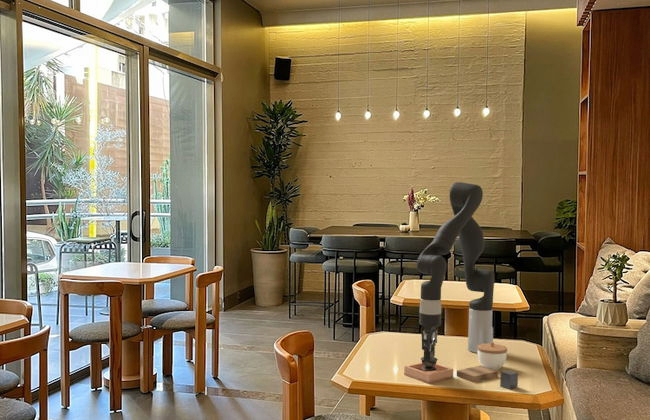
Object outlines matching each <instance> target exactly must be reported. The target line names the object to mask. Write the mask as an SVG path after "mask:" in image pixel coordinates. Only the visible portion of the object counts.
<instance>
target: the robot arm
mask: <svg viewBox="0 0 650 420" xmlns="http://www.w3.org/2000/svg"><path fill="white" fill-rule="evenodd" d="M483 192H484V191H483V188H482V187H481V186H480V185H478V184H473V183H468V182H460V181H459V182H457V181H456V182H454V183H453V184H452V185H451V186H450V189H449V203H450V205H451V208H452V213H453V216H452V217H451V218H450V219H448V220H447V221H445V222H444V223H443V224H442V225H441V226H440V227H439V229H438V230H437V231H436V233H435V236H434V238H433V240H432V241H431V242H430V244H428V245H427V246H426V248H424V250H423V251H421V253H420V254H419V256H418V257H417V260H416V270H417V271H418V272H419V273H420V274H423V275H430V277H431V278H430V279H429V280H428V281H427V280H426V281H425V280H424V281H423V282H422V283H421V285H420V301H419V320H418V321H419V322H418V324H419V325H421V326H423V327H424V330H423V331H422V333H421V350H423V357H424V361H427V362H429V361H430V354H431V345H432V344H433V340H434V348H435V349H434V357H435V356H436V355H435V354H436V346H437V343H438V329H439V328H438V327H440V326H441V325H442V286H443V283H444V279H445V276H446V272H447V268H448V267H447V266H448V264H447V261H446V259H445V257H443V256H445V255H448V254H449V253H450V252H451V250H452V248H453V246H454V244H455V243H456V240H457V238H458V240H459V246H460V250H461V253H462V261H463V266H464V275H465V277H464V278H465V284H466V288H467V290H469V291H471V292H478V293H483V295H482V296H481V297H479V298H474V299H471V300H470V301H469V303H468V335H467V336H468V339H467V340H468V341H467V350H468V351H470V352H472V353H476V354H478V349H477V346H478V345H479V344H485V343H491V342H493V343H494V326H493V307H494V306H493V304H494V288H495V273H494V271H493V270H492V269H485V268H484V269H483V268H482V269H481V268H476V267H475V264H476V261H478V259H479V257H480V256H481V254H482V253H483V251H484V249H485V247H486V246H485V245H486V244H485V237H484V232H483V230H482V227H481V226H480V225H479V224H478V222H477V221H476V220H475V219H474V217H473V215H474V214H475V212H476V211H477V210H478V208H479V207H480V205H481V203H482V200H483V196H484V193H483ZM426 344H427V347H426Z"/></svg>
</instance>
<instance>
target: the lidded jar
mask: <svg viewBox="0 0 650 420" xmlns="http://www.w3.org/2000/svg"><path fill="white" fill-rule="evenodd" d="M477 349H478V353H477V360H478V361H479V364H480V365H481V366H484V367H487V368H490V369H493V370H496V371H499V370H500V369H501V368H502V367H503V366H504V365H505V363H506V361H507V355H508V353H507V352H508V347H507V346H506V345H502V344H499V343H498V344H497V343H495V342H494V341H493V342H491V343H485V344H479V345H478V346H477Z"/></svg>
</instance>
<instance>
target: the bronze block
mask: <svg viewBox="0 0 650 420" xmlns="http://www.w3.org/2000/svg"><path fill="white" fill-rule="evenodd" d="M498 373H499V370H493V369H490V368H487V367H484V366H482V365H481V364H480V365H476V366H471V367H468V368H467V367H466V368H462V369H458V370H456V377H458V378H460V379H464V380H466V381H469V382H472V383H477V382H482V381H485V380H491V379H494V378H498Z"/></svg>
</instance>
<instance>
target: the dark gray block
mask: <svg viewBox="0 0 650 420" xmlns="http://www.w3.org/2000/svg"><path fill="white" fill-rule="evenodd" d="M499 381H500V382H499V387H502V388H504V389H507V390H513V389H517V388H518V386H519V385H518V383H519V382H518V381H519V372H517V371H514V370H511V369H505V370H502V371H501V370H500V379H499ZM516 387H517V388H516Z"/></svg>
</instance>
